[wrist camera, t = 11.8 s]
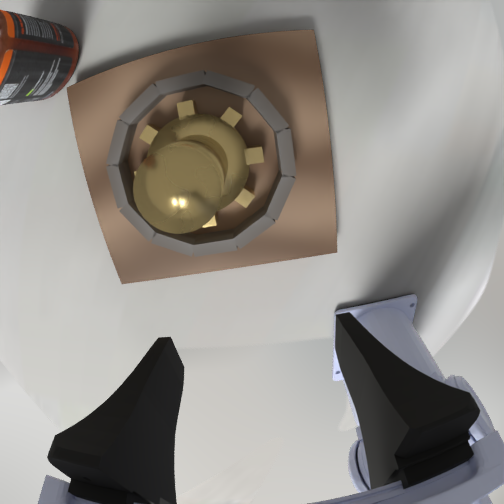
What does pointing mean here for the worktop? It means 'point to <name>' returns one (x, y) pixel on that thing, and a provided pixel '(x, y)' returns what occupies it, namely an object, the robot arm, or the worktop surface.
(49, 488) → the robot arm
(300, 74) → the collar board
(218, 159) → the planet gear
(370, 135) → the worktop surface
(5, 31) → the supplement bottle
